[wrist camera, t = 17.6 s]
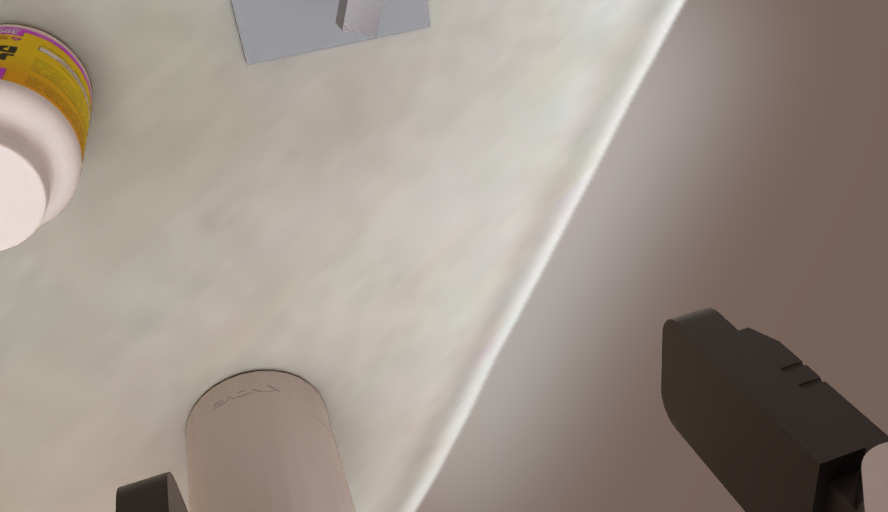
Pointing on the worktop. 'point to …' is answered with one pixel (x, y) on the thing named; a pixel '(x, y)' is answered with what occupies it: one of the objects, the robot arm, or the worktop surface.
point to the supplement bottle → (39, 129)
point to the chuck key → (359, 16)
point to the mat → (312, 25)
